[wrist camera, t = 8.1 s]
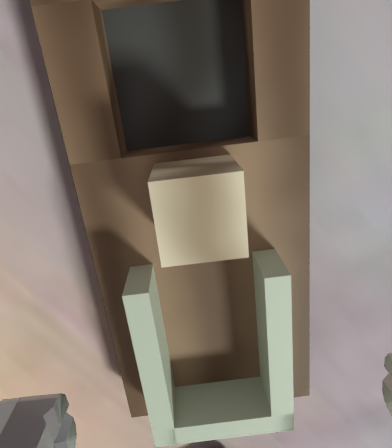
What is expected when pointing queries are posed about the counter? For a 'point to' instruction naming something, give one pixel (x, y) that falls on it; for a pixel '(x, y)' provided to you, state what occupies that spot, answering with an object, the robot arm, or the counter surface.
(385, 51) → the counter surface
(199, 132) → the board
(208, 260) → the cube
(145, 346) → the cubby
